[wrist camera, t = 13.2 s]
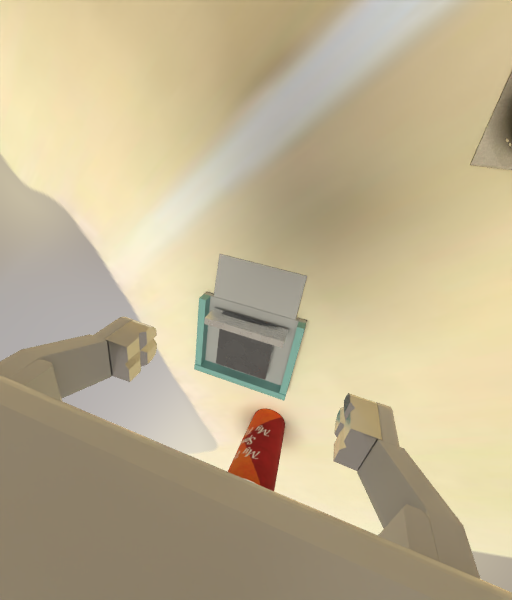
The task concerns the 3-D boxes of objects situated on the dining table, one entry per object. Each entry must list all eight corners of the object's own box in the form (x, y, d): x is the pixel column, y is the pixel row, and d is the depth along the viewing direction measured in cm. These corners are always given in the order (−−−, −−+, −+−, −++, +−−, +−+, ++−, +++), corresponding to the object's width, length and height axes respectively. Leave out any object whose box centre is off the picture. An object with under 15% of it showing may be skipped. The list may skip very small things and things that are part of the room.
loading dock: (212, 249, 38) (201, 256, 35) (319, 276, 35) (316, 286, 32) (204, 356, 47) (194, 369, 44) (288, 384, 44) (284, 400, 41)
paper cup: (265, 396, 45) (235, 479, 33) (300, 425, 45) (283, 517, 33) (239, 417, 49) (204, 498, 37) (272, 443, 49) (248, 531, 37)
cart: (215, 305, 39) (204, 317, 36) (289, 327, 37) (284, 341, 34) (211, 354, 43) (201, 368, 40) (277, 376, 41) (271, 392, 38)
